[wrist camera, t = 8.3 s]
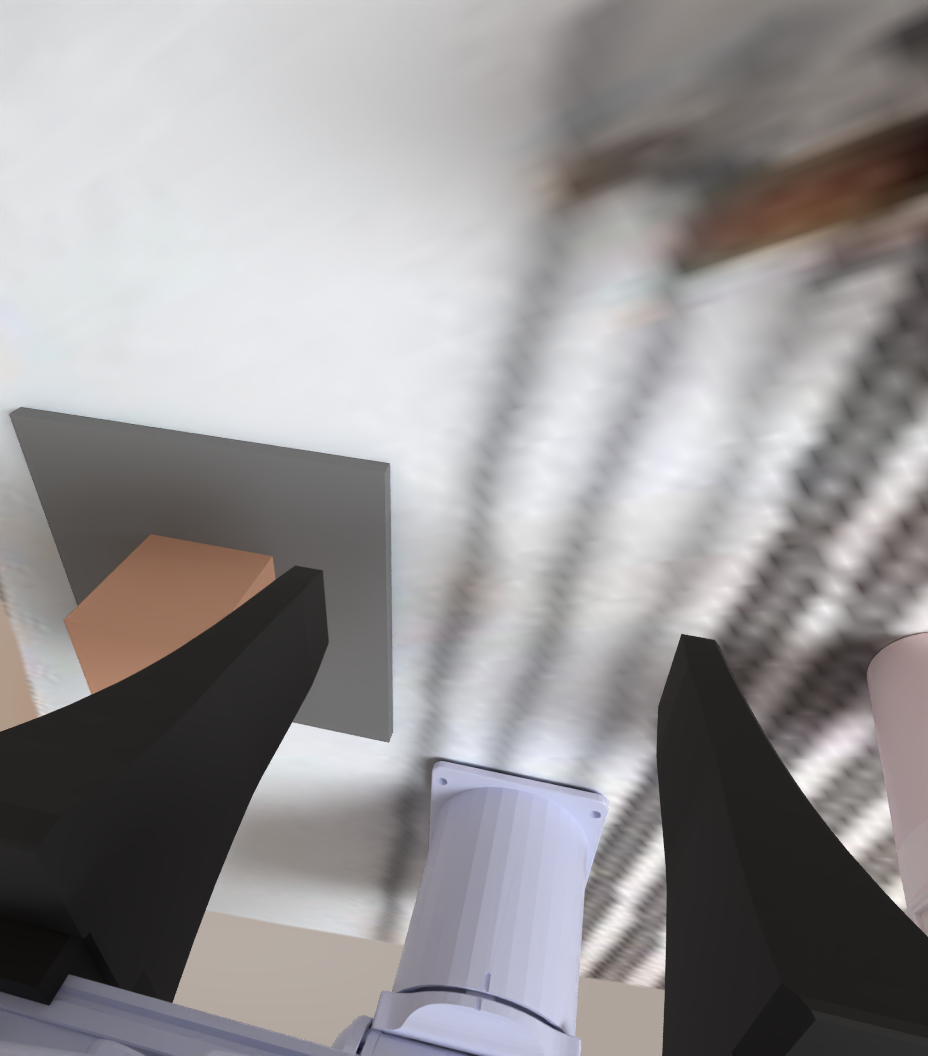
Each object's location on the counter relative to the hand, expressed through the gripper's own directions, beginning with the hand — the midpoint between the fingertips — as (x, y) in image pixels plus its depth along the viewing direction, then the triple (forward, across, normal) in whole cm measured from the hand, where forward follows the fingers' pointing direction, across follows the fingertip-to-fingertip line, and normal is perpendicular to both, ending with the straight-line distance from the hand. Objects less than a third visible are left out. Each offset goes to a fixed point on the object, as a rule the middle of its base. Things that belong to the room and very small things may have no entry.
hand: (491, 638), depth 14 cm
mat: (+9, +12, +9) cm, 18 cm away
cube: (+9, +12, +9) cm, 17 cm away
